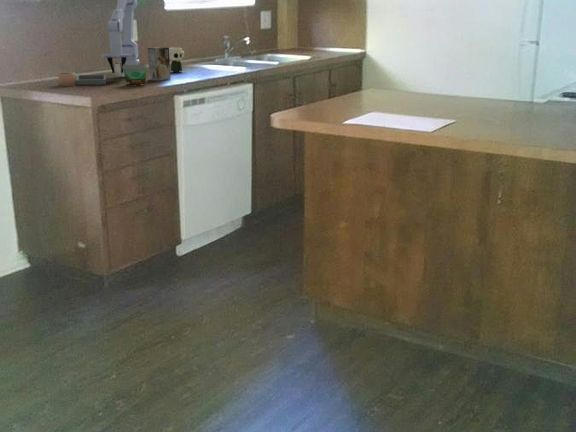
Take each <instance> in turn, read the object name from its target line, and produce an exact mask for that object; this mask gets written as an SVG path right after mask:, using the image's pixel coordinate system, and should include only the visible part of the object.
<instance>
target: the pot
mask: <svg viewBox="0 0 576 432" xmlns="http://www.w3.org/2000/svg"><path fill="white" fill-rule="evenodd" d="M57 77H58V87H76V86H77V85H76V78H77V76H76V71H60V72H57Z"/></svg>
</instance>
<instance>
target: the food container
mask: <svg viewBox="0 0 576 432" xmlns="http://www.w3.org/2000/svg"><path fill="white" fill-rule="evenodd" d="M121 67H122V66H121ZM122 69H124V74H125V77H124V79H125V85H126V84H127V85H126V86H128V85H141V84H145V85H146V83H147V82H146V81H147V69H149V66H148V64H147V63H144V64H140V65H124V64H123V67H122Z"/></svg>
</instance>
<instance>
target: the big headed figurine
mask: <svg viewBox="0 0 576 432" xmlns="http://www.w3.org/2000/svg"><path fill="white" fill-rule="evenodd" d="M168 48H169V60H170V61H171V62H170V72H173V73H180V72H183V67H182V62H181V61H182V60H183V58H185V51H184V50H183V48H182V47H168Z"/></svg>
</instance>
